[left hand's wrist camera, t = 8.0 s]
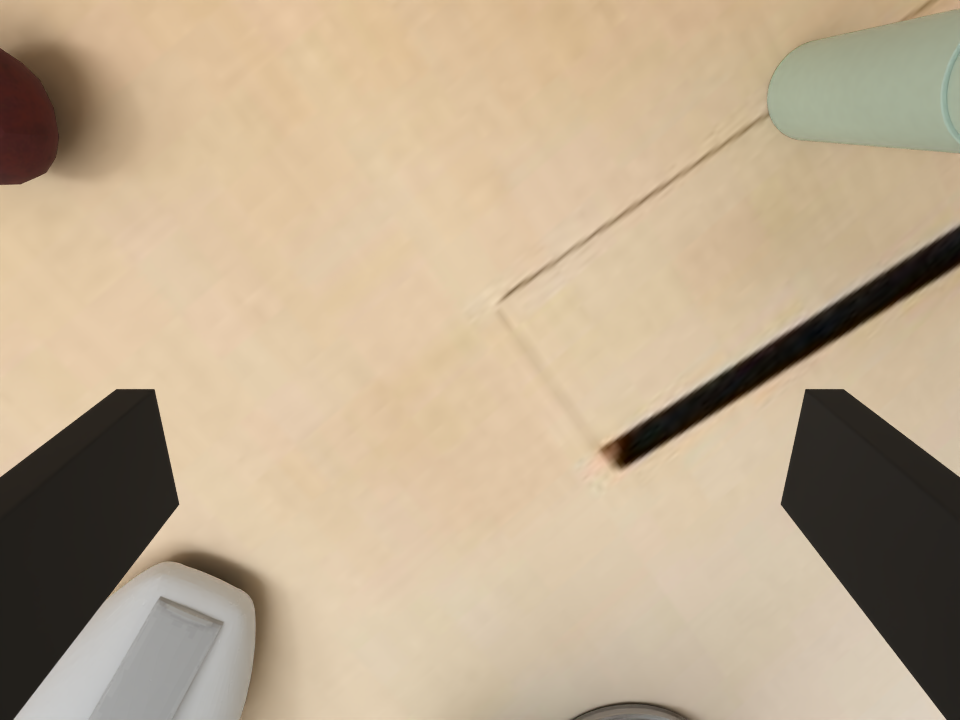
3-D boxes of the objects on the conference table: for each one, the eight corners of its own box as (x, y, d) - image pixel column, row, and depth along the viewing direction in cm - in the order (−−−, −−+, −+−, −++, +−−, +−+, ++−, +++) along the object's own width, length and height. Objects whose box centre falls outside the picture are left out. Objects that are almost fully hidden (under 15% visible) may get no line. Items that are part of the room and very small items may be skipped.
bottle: (753, 130, 37) (1055, 148, 17) (786, 30, 35) (1168, -74, 15) (838, 148, 37) (1225, 185, 18) (876, 50, 35) (1356, -27, 16)
